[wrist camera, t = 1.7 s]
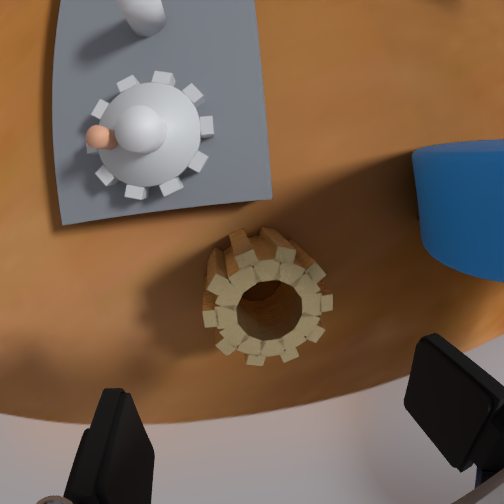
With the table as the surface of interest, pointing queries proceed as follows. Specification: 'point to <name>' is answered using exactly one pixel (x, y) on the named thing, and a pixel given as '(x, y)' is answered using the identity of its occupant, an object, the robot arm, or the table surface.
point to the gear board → (190, 60)
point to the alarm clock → (463, 205)
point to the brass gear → (272, 308)
